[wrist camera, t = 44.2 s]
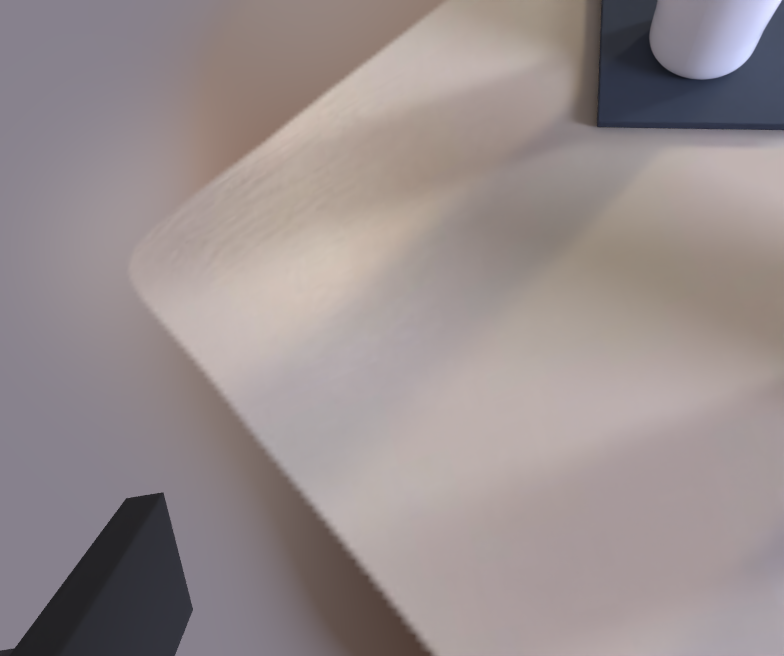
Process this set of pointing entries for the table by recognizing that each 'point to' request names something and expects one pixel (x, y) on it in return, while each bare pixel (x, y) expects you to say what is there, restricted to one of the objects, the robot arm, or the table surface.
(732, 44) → the drinking glass
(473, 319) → the table surface
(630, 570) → the table surface
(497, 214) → the table surface
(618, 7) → the slate mat
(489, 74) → the table surface
